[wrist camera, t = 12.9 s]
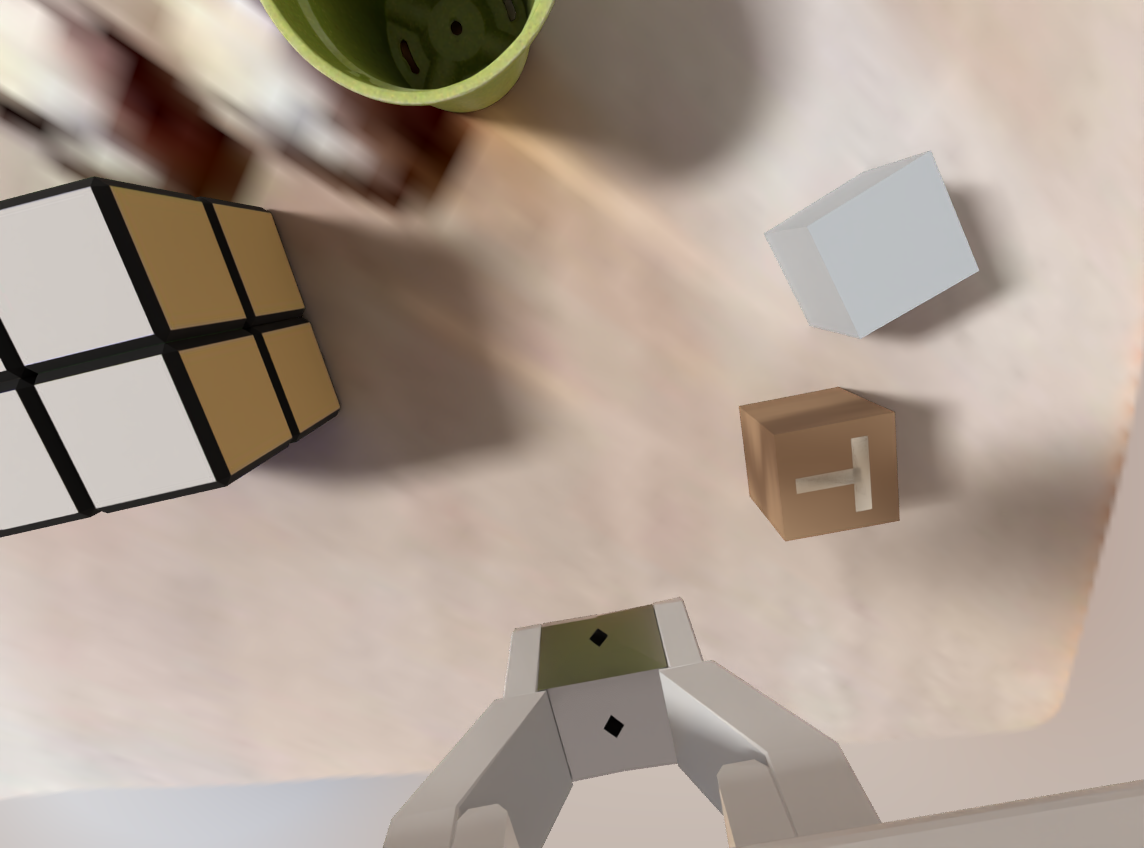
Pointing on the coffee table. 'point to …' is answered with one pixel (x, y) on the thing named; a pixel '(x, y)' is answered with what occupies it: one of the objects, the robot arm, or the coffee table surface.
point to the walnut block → (821, 462)
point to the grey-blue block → (874, 247)
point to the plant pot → (414, 46)
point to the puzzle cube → (144, 350)
